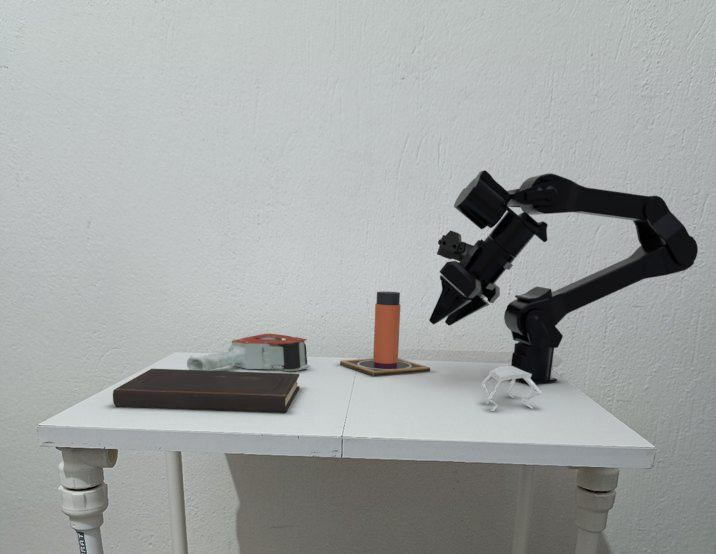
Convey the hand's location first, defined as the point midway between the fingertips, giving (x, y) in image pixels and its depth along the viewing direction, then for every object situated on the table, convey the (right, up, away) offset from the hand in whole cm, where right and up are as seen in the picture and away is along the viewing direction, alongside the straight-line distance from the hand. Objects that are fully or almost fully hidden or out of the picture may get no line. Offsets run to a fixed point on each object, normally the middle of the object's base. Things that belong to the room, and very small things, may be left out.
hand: (439, 323), depth 113 cm
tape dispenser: (-33, -7, +5) cm, 34 cm away
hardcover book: (-35, -15, -18) cm, 42 cm away
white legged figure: (+8, -16, -16) cm, 24 cm away
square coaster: (-9, -6, +8) cm, 14 cm away
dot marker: (-9, -7, +6) cm, 13 cm away
